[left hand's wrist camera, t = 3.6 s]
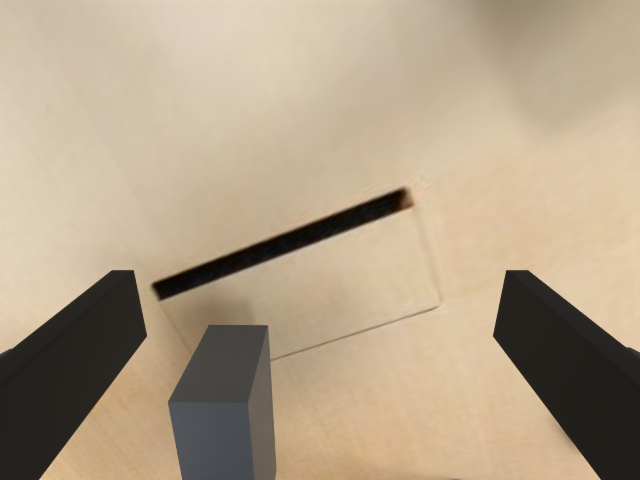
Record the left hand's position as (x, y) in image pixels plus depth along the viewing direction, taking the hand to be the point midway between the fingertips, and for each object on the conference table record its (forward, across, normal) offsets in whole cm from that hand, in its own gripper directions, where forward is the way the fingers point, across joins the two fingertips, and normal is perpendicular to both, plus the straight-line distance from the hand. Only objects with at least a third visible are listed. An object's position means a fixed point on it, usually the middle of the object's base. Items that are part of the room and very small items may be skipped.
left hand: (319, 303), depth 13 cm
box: (+20, -8, -25) cm, 34 cm away
